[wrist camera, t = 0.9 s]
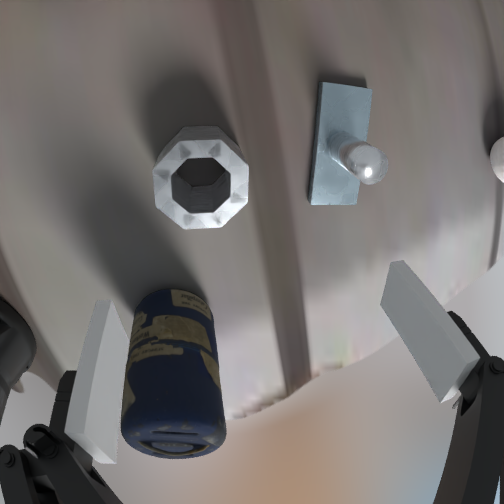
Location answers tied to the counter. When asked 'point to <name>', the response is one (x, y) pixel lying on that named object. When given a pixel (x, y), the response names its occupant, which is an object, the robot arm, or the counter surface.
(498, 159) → the egg
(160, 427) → the canister
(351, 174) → the shaft stand
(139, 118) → the counter surface
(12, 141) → the counter surface
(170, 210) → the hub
